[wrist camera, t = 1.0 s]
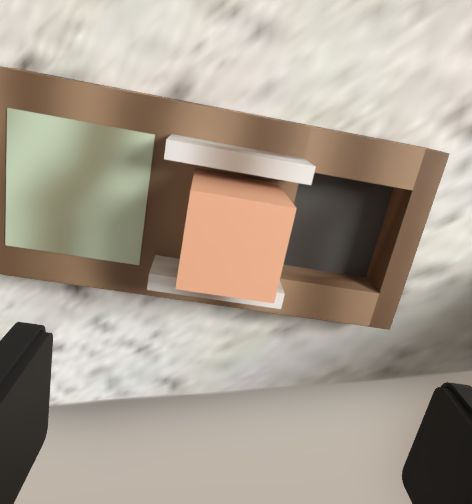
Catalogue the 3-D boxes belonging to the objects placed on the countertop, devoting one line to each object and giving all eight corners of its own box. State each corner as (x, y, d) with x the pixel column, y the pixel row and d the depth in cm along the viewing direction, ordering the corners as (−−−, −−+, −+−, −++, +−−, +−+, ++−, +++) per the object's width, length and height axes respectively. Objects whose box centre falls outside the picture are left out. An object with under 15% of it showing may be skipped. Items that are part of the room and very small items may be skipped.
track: (426, 147, 29) (478, 161, 23) (374, 309, 33) (408, 354, 27) (16, 68, 26) (-38, 61, 20) (12, 255, 30) (-34, 293, 24)
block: (278, 183, 26) (296, 208, 21) (261, 260, 28) (274, 303, 22) (194, 168, 26) (190, 189, 20) (182, 248, 27) (175, 289, 22)
